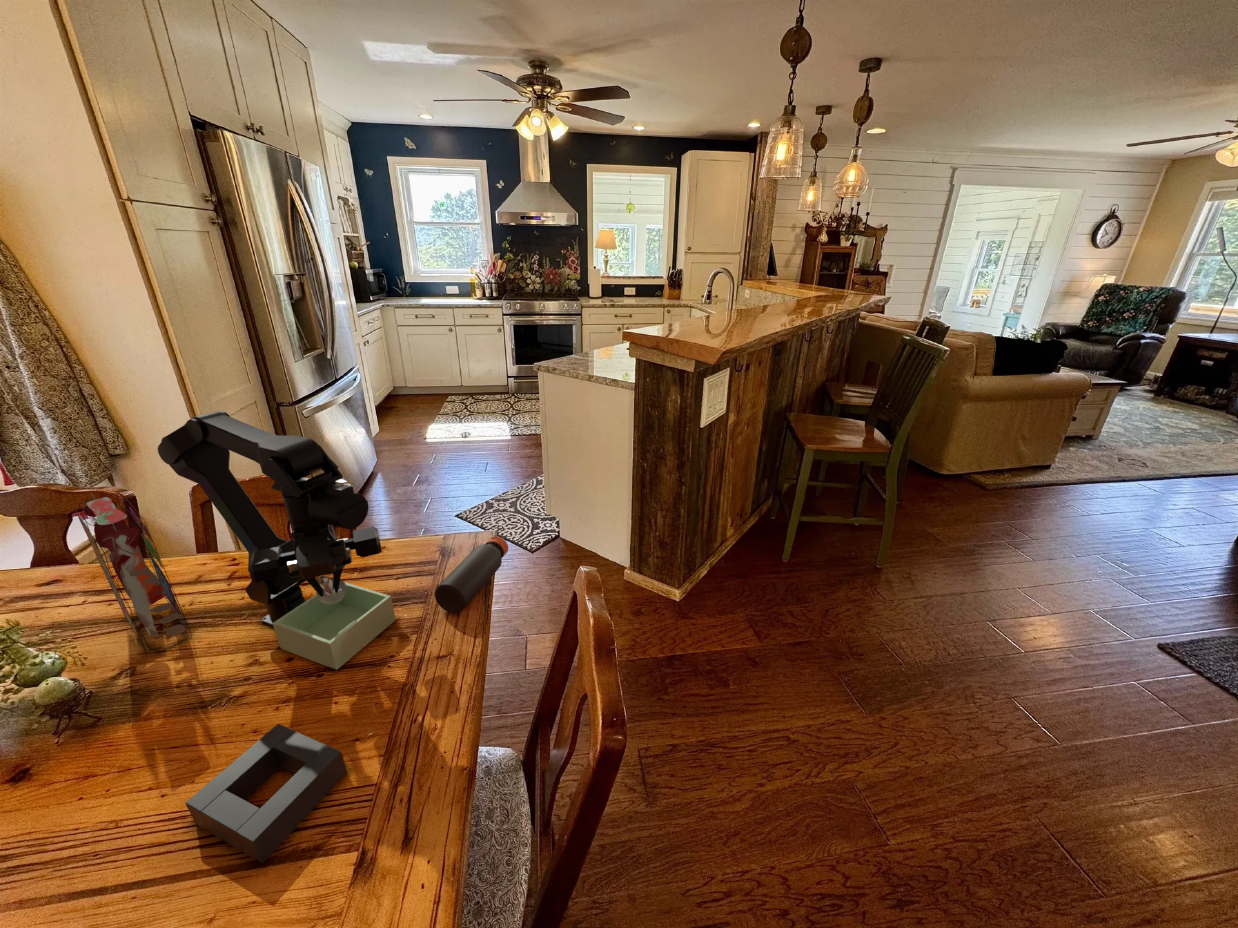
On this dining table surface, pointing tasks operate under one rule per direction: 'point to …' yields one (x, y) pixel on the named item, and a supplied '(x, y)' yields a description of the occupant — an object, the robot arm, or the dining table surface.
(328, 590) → the screw
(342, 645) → the parts bin
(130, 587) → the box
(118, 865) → the dining table surface
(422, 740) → the dining table surface
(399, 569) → the dining table surface
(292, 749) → the gray rectangular frame
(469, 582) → the bottle
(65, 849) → the dining table surface
